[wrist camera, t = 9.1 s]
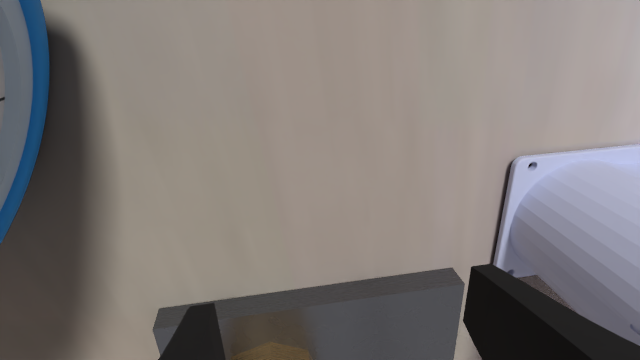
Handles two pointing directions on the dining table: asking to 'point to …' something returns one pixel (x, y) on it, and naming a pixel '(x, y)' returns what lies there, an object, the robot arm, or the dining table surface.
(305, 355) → the wooden octagonal tube
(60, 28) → the dining table surface
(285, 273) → the dining table surface
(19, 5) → the alarm clock
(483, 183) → the dining table surface
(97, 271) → the dining table surface
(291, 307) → the plate
